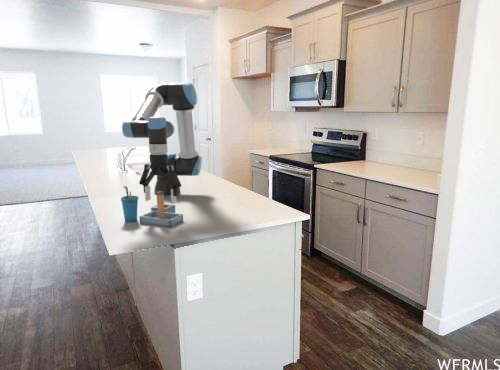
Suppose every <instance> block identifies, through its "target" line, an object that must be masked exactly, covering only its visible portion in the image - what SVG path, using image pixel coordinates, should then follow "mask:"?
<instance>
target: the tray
mask: <svg viewBox="0 0 500 370" xmlns="http://www.w3.org/2000/svg"><path fill="white" fill-rule="evenodd" d="M138 217H139V223H140V224H144V225H145V224H146V225H151V224H152V225H151V226H158V225H159V226H158V227H167V228H172V227H174V226H177V224H180V223H181V222H184V214H183V213H176V212H175V213H169V212H165V219H160V218H158V211H151V210H150V212H147V213H143V214H141V215H139V216H138Z"/></svg>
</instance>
